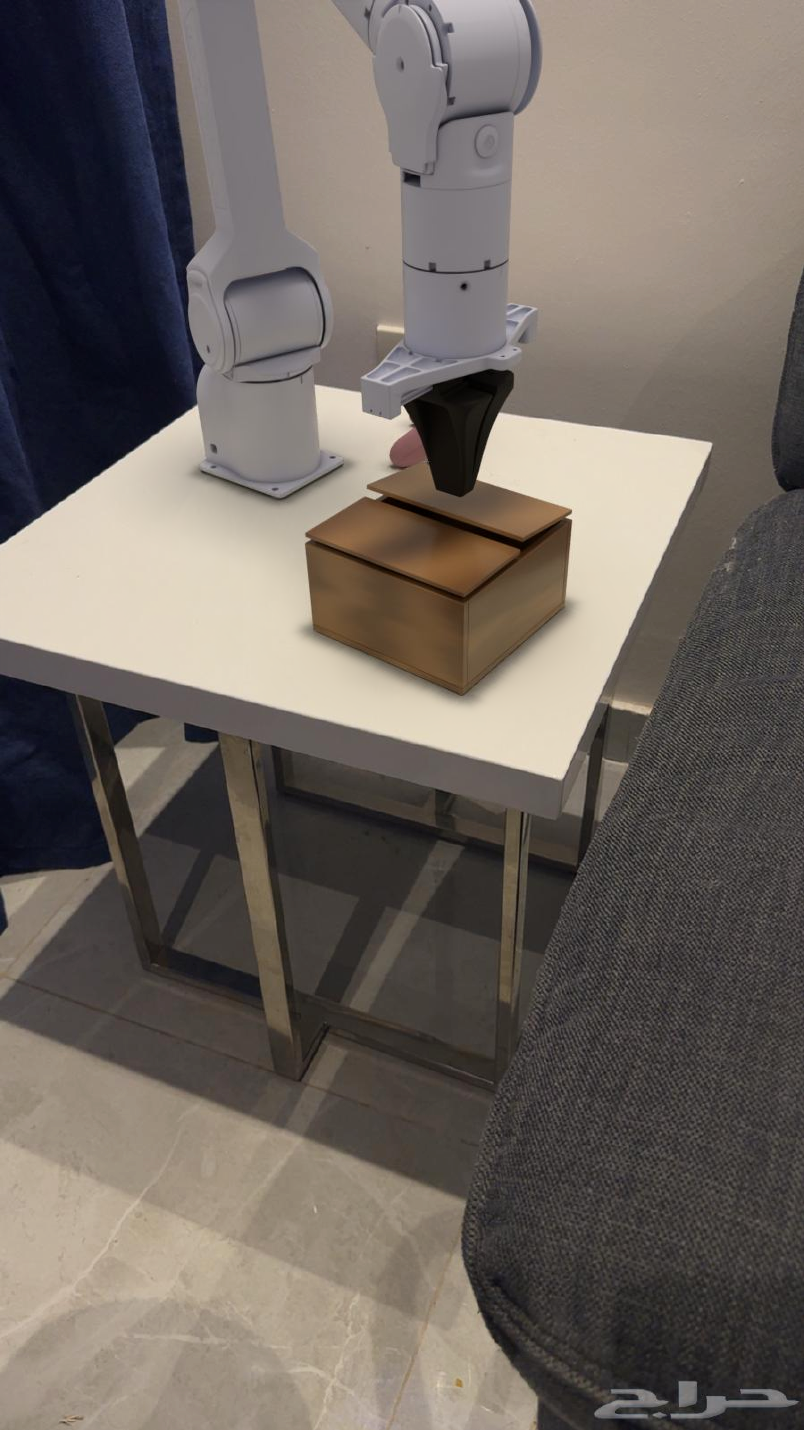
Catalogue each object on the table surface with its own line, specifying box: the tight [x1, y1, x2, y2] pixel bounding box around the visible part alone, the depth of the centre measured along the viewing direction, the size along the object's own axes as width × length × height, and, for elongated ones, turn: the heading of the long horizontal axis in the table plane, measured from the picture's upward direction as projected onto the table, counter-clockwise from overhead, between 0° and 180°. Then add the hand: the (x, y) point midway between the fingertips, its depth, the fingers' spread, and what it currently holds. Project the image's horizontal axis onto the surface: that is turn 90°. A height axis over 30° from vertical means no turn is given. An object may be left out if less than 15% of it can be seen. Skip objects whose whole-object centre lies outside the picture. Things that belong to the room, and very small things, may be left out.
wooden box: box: [304, 494, 573, 696], centre depth 66 cm, size 12×12×7 cm
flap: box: [366, 462, 573, 542], centre depth 66 cm, size 12×6×1 cm, turn 52°
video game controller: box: [389, 415, 427, 468], centre depth 87 cm, size 10×5×7 cm, turn 168°
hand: (454, 489), depth 64 cm, fingers closed
